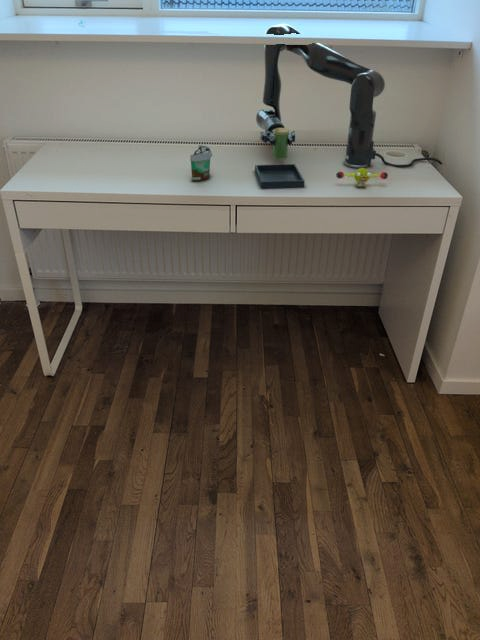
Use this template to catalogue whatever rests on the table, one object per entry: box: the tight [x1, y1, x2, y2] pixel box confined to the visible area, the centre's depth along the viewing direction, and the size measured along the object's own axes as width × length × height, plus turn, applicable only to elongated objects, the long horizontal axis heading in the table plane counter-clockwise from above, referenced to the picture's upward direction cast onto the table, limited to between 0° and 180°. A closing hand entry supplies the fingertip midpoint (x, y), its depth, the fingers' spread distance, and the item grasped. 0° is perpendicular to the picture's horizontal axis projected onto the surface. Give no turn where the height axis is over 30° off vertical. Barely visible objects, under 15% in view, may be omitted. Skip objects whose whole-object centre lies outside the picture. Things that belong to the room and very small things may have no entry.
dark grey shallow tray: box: [254, 163, 305, 190], centre depth 195 cm, size 15×17×2 cm
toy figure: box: [336, 167, 389, 188], centre depth 189 cm, size 18×6×7 cm, turn 90°
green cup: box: [272, 127, 290, 160], centre depth 205 cm, size 6×6×10 cm
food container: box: [189, 144, 213, 183], centre depth 194 cm, size 12×6×10 cm, turn 168°
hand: (281, 142), depth 203 cm, fingers closed on green cup, 5 cm apart
